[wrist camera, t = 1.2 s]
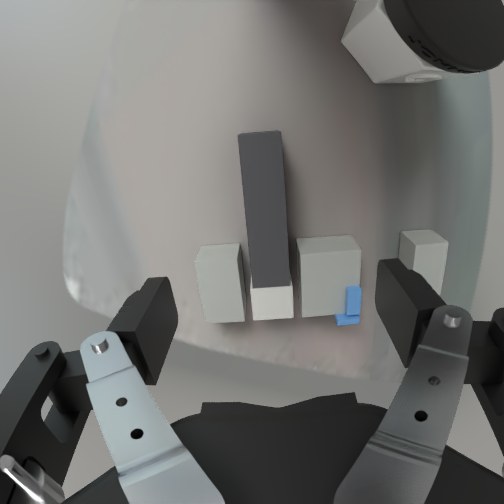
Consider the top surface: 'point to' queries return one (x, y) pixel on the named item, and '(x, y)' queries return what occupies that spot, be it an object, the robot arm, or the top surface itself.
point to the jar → (425, 38)
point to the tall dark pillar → (266, 224)
